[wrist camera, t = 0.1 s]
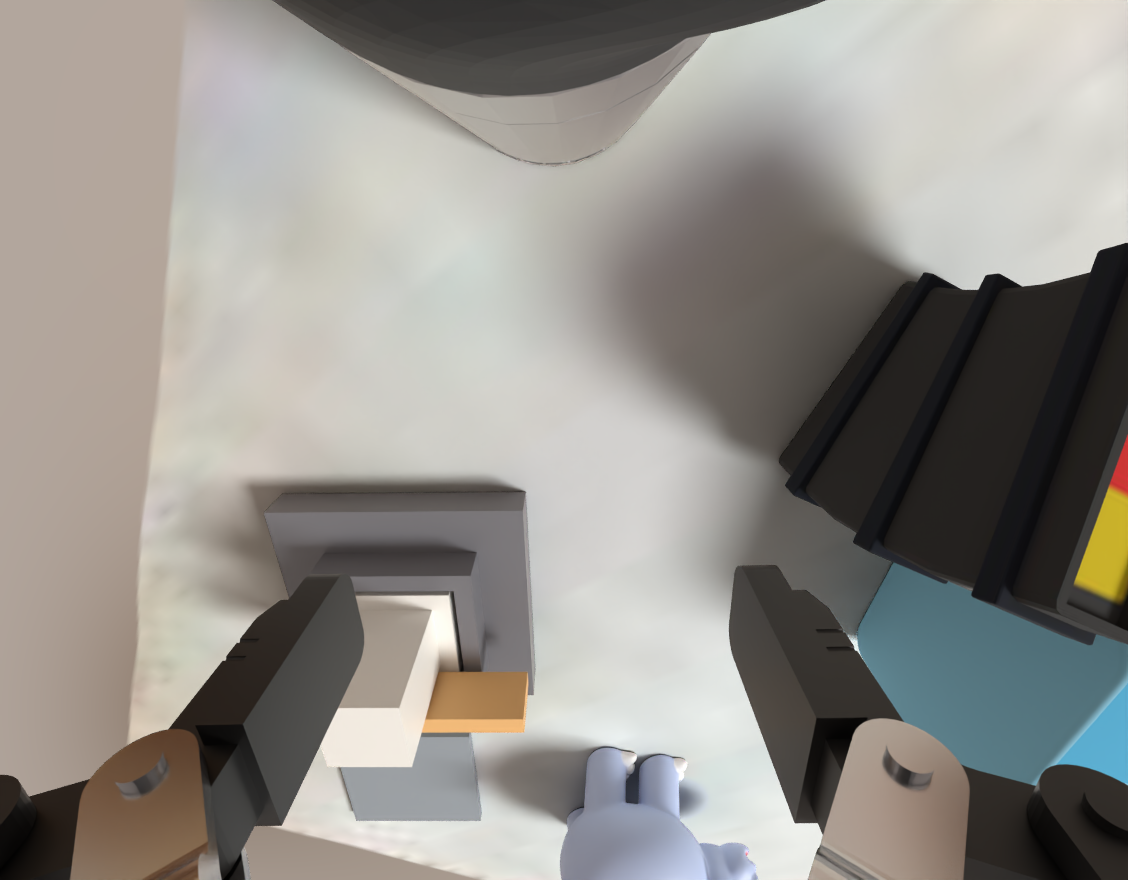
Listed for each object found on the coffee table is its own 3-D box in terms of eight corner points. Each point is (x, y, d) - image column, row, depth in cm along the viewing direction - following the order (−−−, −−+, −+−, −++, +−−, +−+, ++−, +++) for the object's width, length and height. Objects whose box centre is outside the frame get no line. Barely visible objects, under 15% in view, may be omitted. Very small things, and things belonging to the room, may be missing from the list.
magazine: (746, 520, 29) (1038, 619, 14) (833, 300, 29) (1203, 167, 14) (803, 544, 29) (1142, 664, 14) (887, 328, 30) (1296, 229, 15)
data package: (913, 649, 35) (1071, 856, 24) (848, 640, 34) (977, 845, 23) (1008, 495, 30) (1263, 667, 19) (933, 482, 29) (1148, 650, 18)
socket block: (282, 493, 30) (241, 535, 26) (525, 491, 30) (519, 533, 26) (331, 670, 36) (303, 724, 32) (535, 669, 36) (531, 724, 32)
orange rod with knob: (286, 668, 30) (257, 715, 27) (527, 667, 30) (523, 715, 27) (292, 688, 31) (265, 736, 28) (528, 687, 30) (524, 736, 28)
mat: (334, 729, 38) (331, 737, 38) (470, 729, 38) (468, 737, 38) (359, 812, 43) (356, 820, 42) (481, 812, 42) (480, 820, 42)
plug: (351, 571, 30) (280, 692, 23) (456, 571, 30) (419, 691, 22) (369, 649, 32) (311, 780, 25) (465, 649, 32) (435, 780, 25)
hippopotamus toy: (711, 846, 44) (745, 1003, 36) (537, 823, 43) (529, 979, 35) (756, 766, 40) (808, 924, 31) (564, 738, 39) (562, 893, 30)
